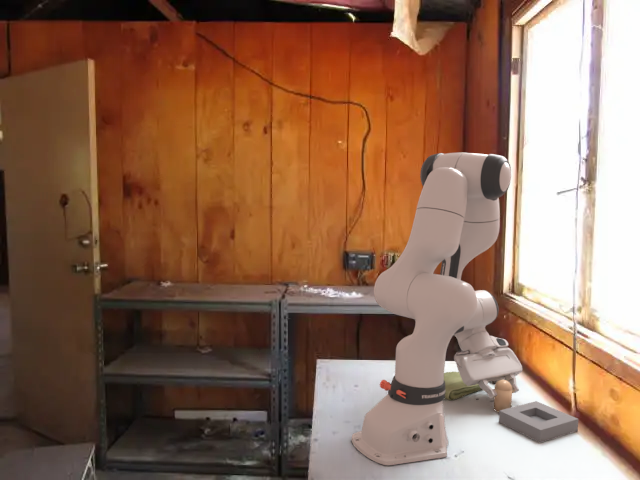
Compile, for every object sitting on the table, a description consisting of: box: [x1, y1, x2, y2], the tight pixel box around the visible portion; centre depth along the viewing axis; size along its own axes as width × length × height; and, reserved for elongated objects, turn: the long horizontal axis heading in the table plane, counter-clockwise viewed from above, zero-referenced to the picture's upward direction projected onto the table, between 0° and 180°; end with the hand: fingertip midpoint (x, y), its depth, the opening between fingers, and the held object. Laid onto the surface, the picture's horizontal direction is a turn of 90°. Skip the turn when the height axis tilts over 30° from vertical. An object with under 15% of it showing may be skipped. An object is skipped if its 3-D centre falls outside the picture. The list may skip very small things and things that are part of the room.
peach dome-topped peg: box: [493, 380, 513, 412], centre depth 132 cm, size 4×4×8 cm
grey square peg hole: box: [498, 400, 579, 443], centre depth 123 cm, size 14×12×3 cm
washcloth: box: [444, 371, 482, 401], centre depth 147 cm, size 13×18×3 cm
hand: (505, 394), depth 132 cm, fingers open, 7 cm apart
